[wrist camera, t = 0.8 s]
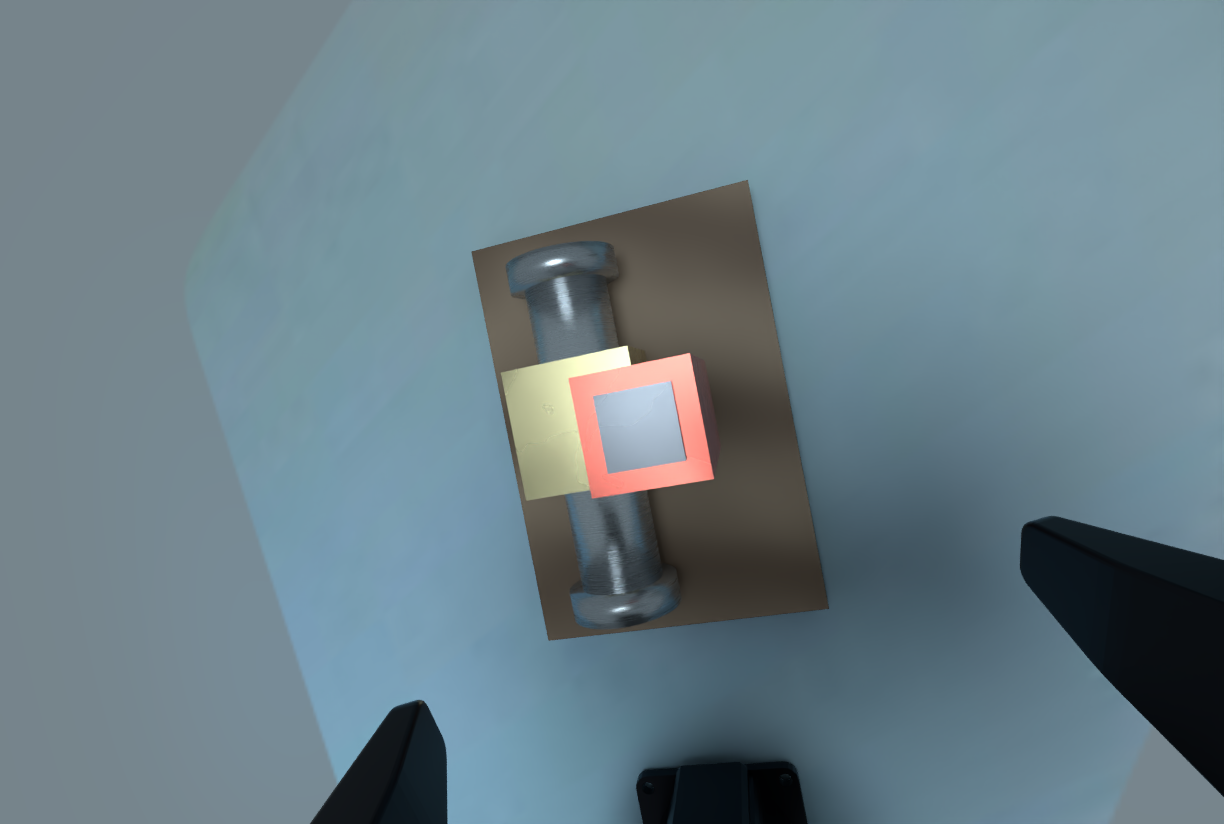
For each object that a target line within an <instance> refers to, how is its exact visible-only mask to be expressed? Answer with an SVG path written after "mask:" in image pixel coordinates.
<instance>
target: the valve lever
mask: <svg viewBox="0 0 1224 824" xmlns="http://www.w3.org/2000/svg"><path fill="white" fill-rule="evenodd" d="M568 379H569V384H570V390H571V395H572V400H573V405H574V410H575V415H576V420H577V425H578V430H579V435H580V441H581V446H582V451H583V456H584V461H585V466H586V471H587V476H588V481H589V486H590V492H591V497H592V499H593V498H599V497H606V496H612V495H618V494H624V493H630V492H636V491H643V490H649V489H655V488H661V487H667V486H674V485H680V484H686V483H692V482H698V481H704V480H711V479H714V477H715V472H716V468H717V463H718V459H719V454H720V449H721V443H720V438H719V433H718V427H717V422H716V417H715V412H714V407H713V401H712V396H711V391H710V386H709V381H708V375H707V370H706V365H705V361H704V360H702V359H700V358H698V357H696V356H694V355H692V354H690V353H688V354H683V355H679V356H674V357H669V358H664V359H659V360H654V361H649V362H645V363H640V364H635V365H630V366H625V367H620V368H615V369H611V370H606V371H601V372H596V373H591V374H586V375H581V376H577V377H572V378H568Z"/></svg>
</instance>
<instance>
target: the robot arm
mask: <svg viewBox="0 0 1224 824" xmlns="http://www.w3.org/2000/svg"><path fill="white" fill-rule="evenodd" d="M1020 570H1021V574H1022V576H1023V578H1024V580H1025V582H1026V583H1027V585H1028V586H1029V587H1030V589H1031V590H1032V591H1033V592H1034V593H1035V595H1036V596H1037V597H1038V598H1039V599H1040V601H1041V602H1042V603H1043V604H1044V605H1045V607H1046V608H1047V609H1048V610H1049V611H1050V613H1051V614H1052V615H1053V616H1054V617H1055V619H1056V620H1057V621H1058V622H1059V623H1060V625H1061V626H1062V627H1063V628H1064V629H1065V631H1066V632H1067V633H1068V634H1069V635H1070V637H1071V638H1072V639H1073V640H1074V641H1075V643H1076V644H1077V645H1078V646H1079V648H1080V649H1081V650H1082V651H1083V652H1084V654H1085V655H1086V656H1087V657H1088V658H1089V659H1090V661H1091V662H1092V663H1093V664H1094V665H1095V666H1096V667H1097V669H1098V670H1099V671H1100V672H1101V673H1102V674H1103V675H1104V676H1105V677H1106V678H1107V679H1108V681H1109V682H1110V683H1111V684H1112V685H1113V686H1114V687H1115V688H1116V689H1117V690H1118V691H1119V692H1120V693H1121V694H1122V695H1123V696H1124V697H1125V698H1126V699H1127V700H1128V701H1129V702H1130V703H1131V704H1132V705H1133V706H1134V707H1135V708H1136V709H1137V710H1138V711H1139V712H1140V713H1141V714H1142V715H1143V716H1144V717H1145V718H1146V719H1147V720H1148V721H1149V722H1150V723H1151V724H1152V725H1153V726H1154V727H1155V728H1156V729H1157V730H1158V731H1159V732H1160V733H1161V734H1162V735H1163V736H1164V737H1165V738H1166V739H1167V740H1168V741H1169V742H1170V743H1171V744H1172V745H1173V746H1174V747H1175V748H1176V749H1177V750H1178V751H1179V752H1180V753H1181V754H1182V755H1183V756H1184V757H1185V758H1186V760H1187V761H1189V762H1190V764H1191V765H1192V766H1193V767H1194V768H1195V769H1196V770H1197V771H1198V772H1199V773H1200V774H1201V775H1203V777H1204V778H1205V779H1206V780H1207V781H1208V782H1209V783H1210V784H1211V785H1212V786H1213V787H1214V788H1216V790H1217V791H1218V792H1219V793H1220V794H1221V795H1222V796H1223V797H1224V560H1222V559H1218V558H1214V557H1210V556H1206V555H1203V554H1199V553H1195V552H1191V551H1187V550H1183V549H1180V548H1176V547H1172V546H1168V545H1164V544H1160V543H1157V542H1153V541H1149V540H1145V539H1141V538H1137V537H1134V536H1130V535H1126V534H1122V533H1118V532H1114V531H1111V530H1107V529H1103V528H1099V527H1095V526H1092V525H1088V524H1084V523H1080V522H1076V521H1072V520H1069V519H1065V518H1061V517H1057V516H1048V517H1044V518H1041V519H1037V520H1034V521H1030V522H1028V523H1026V524H1025V525H1024V527H1023V528H1022V532H1021V553H1020ZM783 774H788V775H789V776H791V778H790V779H788V780H783V779H781V778H780V776H781V775H783ZM646 782H648V783H651V784H652V785H653V786H654V787H653V788H648V787H646V786H645V784H644V783H646ZM636 790H637V795H638V800H639V805H640V810H641V815H642V820H643V824H808V823H807V818H806V813H805V808H804V802H803V797H802V792H801V787H800V782H799V776H798V772H797V770H796V768H795V767H794V766H793V765H792V764H790V763H788V762H769V763H753V764H742V763H740V762H733V763H717V764H702V765H687V766H681V767H680V768H676V769H661V770H647V771H643V772H642V773H641V774H640V775H639V777H638V780H637V784H636ZM310 824H447V755H446V747H445V743H444V739H443V737H442V735H441V733H440V731H439V729H438V726H437V724H436V722H435V720H434V718H433V716H432V714H431V712H430V710H429V708H428V706H427V704H426V703H425V702H424V701H422V700H416V701H412V702H409V703H405V704H402V705H399V706H396V707H394V708H393V709H392V710H391V711H390V712H389V713H388V715H387V716H386V718H385V719H384V720H383V722H382V723H381V725H380V726H379V727H378V729H377V730H376V732H375V733H374V734H373V736H372V737H371V739H370V740H369V742H368V743H367V744H366V746H365V747H364V749H363V750H362V751H361V753H360V754H359V756H358V757H357V758H356V760H355V761H354V763H353V764H352V765H351V767H350V768H349V770H348V771H347V772H346V774H345V775H344V777H343V778H342V779H341V781H340V782H339V784H338V785H337V786H336V788H335V789H334V791H333V792H332V793H331V795H330V796H329V798H328V799H327V801H326V802H325V803H324V805H323V806H322V808H321V809H320V811H319V812H318V813H317V815H316V816H315V817H314V819H313V820H312V822H311V823H310Z"/></svg>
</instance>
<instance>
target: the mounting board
mask: <svg viewBox="0 0 1224 824" xmlns="http://www.w3.org/2000/svg"><path fill="white" fill-rule="evenodd" d="M577 241H601V242H606V243H609V244H611V245H613V247H614V251H615V256H616V261H617V267H618V272H619V277H618V278H617V279H616V280H614V281H613V282H611V283H609V284H607V288H608V293H609V298H610V303H611V308H612V313H613V318H614V324H615V329H616V334H617V339H618V344H619V347H623V346H630V347H634V348H637V349H641V350H644V351H645V355H646V361H647V362H649V361H654V360H659V359H664V358H669V357H674V356H679V355H683V354H688V353H690V354H692V355H694V356H696V357H698V358H700V359H702V360H704V361H705V365H706V370H707V375H708V381H709V386H710V391H711V396H712V401H713V407H714V412H715V417H716V422H717V427H718V433H719V438H720V443H721V449H720V454H719V459H718V463H717V468H716V472H715V477H714V479H711V480H704V481H698V482H692V483H686V484H680V485H674V486H667V487H661V488H655V489H649V490H647V493H648V499H649V504H650V509H651V514H652V519H653V524H654V529H655V535H656V540H657V545H658V550H659V555H660V560H661V563H664V564H668V565H671V566H673V567H674V568H675V569H676V571H677V576H678V581H679V586H680V592H681V597H682V600H681V603H680V604H679V605H678V606H677V607H676V608H675V609H674V610H673V611H671V612H670V613H668V614H666V615H664V616H662V617H660V618H658V619H655V620H652V621H650V622H646V623H643V624H639V625H635V626H631V627H625V628H618V629H590V628H586V627H583V626H580V625H579V624H577V623H576V621H575V618H574V613H573V607H572V602H571V597H570V592H569V591H570V588H571V587H572V586H573V585H574V584H575V583H576V582H578V581H579V580H581V577H580V572H579V567H578V562H577V557H576V552H575V546H574V541H573V536H572V531H571V526H570V521H569V516H568V511H567V506H566V501H565V496H564V495H558V496H552V497H546V498H539V499H533V500H527V501H526V498H525V493H524V488H523V483H522V477H521V472H520V467H519V462H518V457H517V452H516V447H515V442H514V437H513V432H512V427H511V422H510V417H509V412H508V407H507V402H506V397H505V392H504V387H503V382H502V376H501V372H506V371H511V370H515V369H520V368H525V367H529V366H534V365H539V364H538V359H537V353H536V348H535V343H534V338H533V333H532V328H531V323H530V318H529V313H528V308H527V303H526V299H517V298H514V297H512V296H511V293H510V288H509V283H508V278H507V273H506V268H505V266H506V264H507V263H508V262H509V261H510V260H512V259H513V258H515V257H517V256H519V255H521V254H524V253H526V252H529V251H532V250H535V249H539V248H542V247H547V246H551V245H556V244H562V243H568V242H577ZM472 257H473V262H474V267H475V272H476V277H477V282H478V287H479V292H480V297H481V302H482V307H483V312H484V317H485V322H486V327H487V332H488V337H489V342H490V347H491V353H492V358H493V363H494V368H495V373H496V378H497V383H498V388H499V393H500V398H501V403H502V408H503V413H504V418H505V423H506V428H507V433H508V438H509V443H510V448H511V453H512V459H513V464H514V469H515V474H516V479H517V484H518V489H519V494H520V499H521V504H522V509H523V514H524V519H525V524H526V529H527V534H528V539H529V544H530V549H531V554H532V559H533V565H534V570H535V575H536V580H537V585H538V590H539V595H540V600H541V605H542V610H543V615H544V620H545V625H546V630H547V635H548V640H558V639H567V638H576V637H585V636H593V635H602V634H611V633H620V632H629V631H637V630H646V629H655V628H664V627H673V626H681V625H690V624H699V623H708V622H717V621H725V620H734V619H743V618H752V617H761V616H769V615H778V614H787V613H796V612H805V611H813V610H822V609H829V606H828V601H827V596H826V590H825V585H824V580H823V575H822V569H821V564H820V559H819V553H818V548H817V543H816V538H815V532H814V527H813V522H812V517H811V511H810V506H809V501H808V495H807V490H806V485H805V480H804V474H803V469H802V464H801V459H800V453H799V448H798V443H797V437H796V432H795V427H794V422H793V416H792V411H791V406H790V400H789V395H788V390H787V385H786V379H785V374H784V369H783V364H782V358H781V353H780V348H779V342H778V337H777V332H776V327H775V321H774V316H773V311H772V306H771V300H770V295H769V290H768V284H767V279H766V274H765V269H764V263H763V258H762V253H761V247H760V242H759V237H758V232H757V226H756V221H755V216H754V211H753V205H752V200H751V195H750V189H749V184H748V180H746V181H742V182H738V183H734V184H730V185H726V186H722V187H719V188H715V189H711V190H707V191H703V192H699V193H695V194H692V195H688V196H684V197H680V198H676V199H672V200H669V201H665V202H661V203H657V204H653V205H649V206H645V207H642V208H638V209H634V210H630V211H626V212H622V213H618V214H615V215H611V216H607V217H603V218H599V219H595V220H591V221H588V222H584V223H580V224H576V225H572V226H568V227H565V228H561V229H557V230H553V231H549V232H545V233H541V234H538V235H534V236H530V237H526V238H522V239H518V240H514V241H511V242H507V243H503V244H499V245H495V246H491V247H488V248H484V249H480V250H476V251H472Z"/></svg>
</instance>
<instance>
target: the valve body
mask: <svg viewBox="0 0 1224 824" xmlns="http://www.w3.org/2000/svg"><path fill="white" fill-rule="evenodd" d="M505 268H506V273H507V278H508V283H509V288H510V293H511V296H512V297H514V298H517V299H526V303H527V308H528V313H529V318H530V323H531V328H532V333H533V338H534V343H535V348H536V353H537V359H538V364H539V365H534V366H529V367H525V368H520V369H515V370H511V371H506V372H501V376H502V382H503V387H504V392H505V397H506V402H507V407H508V412H509V417H510V422H511V427H512V432H513V437H514V442H515V447H516V452H517V457H518V462H519V467H520V472H521V477H522V483H523V488H524V493H525V498H526V501H527V500H533V499H539V498H546V497H552V496H558V495H564V496H565V501H566V506H567V511H568V516H569V521H570V526H571V531H572V536H573V541H574V546H575V552H576V557H577V562H578V567H579V572H580V577H581V580H579V581H578V582H576V583H575V584H574V585H573V586H572V587H571V588H570V591H569V592H570V597H571V602H572V607H573V613H574V618H575V621H576V623H577V624H579V625H580V626H583V627H586V628H590V629H618V628H625V627H631V626H635V625H639V624H643V623H646V622H650V621H652V620H655V619H658V618H660V617H662V616H664V615H666V614H668V613H670V612H671V611H673V610H674V609H675V608H676V607H677V606H678V605H679V604H680V603H681V600H682V597H681V592H680V586H679V581H678V576H677V571H676V569H675V568H674V567H673V566H671V565H668V564H664V563H661V560H660V555H659V550H658V545H657V540H656V535H655V529H654V524H653V519H652V514H651V509H650V504H649V499H648V493H647V490H643V491H636V492H630V493H624V494H618V495H612V496H606V497H599V498H593V499H592V497H591V492H590V486H589V481H588V476H587V471H586V466H585V461H584V456H583V451H582V446H581V441H580V435H579V430H578V425H577V420H576V415H575V410H574V405H573V400H572V395H571V390H570V384H569V379H568V378H572V377H577V376H581V375H586V374H591V373H596V372H601V371H606V370H611V369H615V368H620V367H625V366H630V365H635V364H640V363H645V362H647V361H646V355H645V351H644V350H641V349H637V348H634V347H630V346H623V347H619V344H618V339H617V334H616V329H615V324H614V318H613V313H612V308H611V303H610V298H609V293H608V288H607V284H609V283H611V282H613V281H614V280H616V279H617V278H618V277H619V272H618V267H617V261H616V256H615V251H614V247H613V245H611V244H609V243H606V242H601V241H577V242H568V243H562V244H556V245H551V246H547V247H542V248H539V249H535V250H532V251H529V252H526V253H524V254H521V255H519V256H517V257H515V258H513V259H512V260H510V261H509V262H508V263H507V264H506V266H505Z"/></svg>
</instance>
